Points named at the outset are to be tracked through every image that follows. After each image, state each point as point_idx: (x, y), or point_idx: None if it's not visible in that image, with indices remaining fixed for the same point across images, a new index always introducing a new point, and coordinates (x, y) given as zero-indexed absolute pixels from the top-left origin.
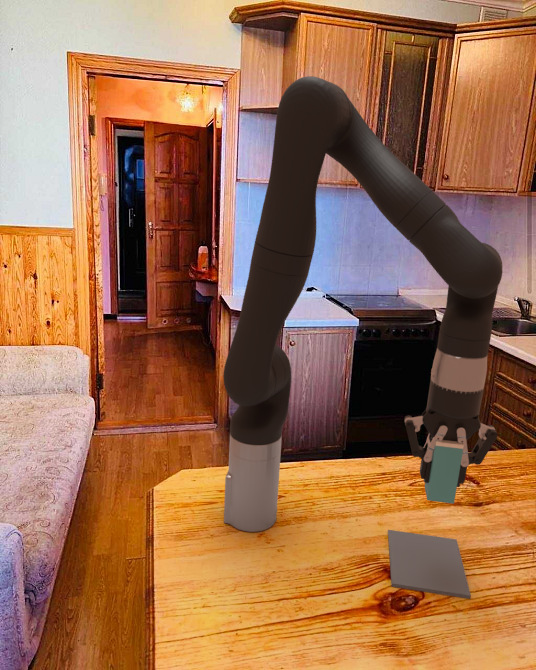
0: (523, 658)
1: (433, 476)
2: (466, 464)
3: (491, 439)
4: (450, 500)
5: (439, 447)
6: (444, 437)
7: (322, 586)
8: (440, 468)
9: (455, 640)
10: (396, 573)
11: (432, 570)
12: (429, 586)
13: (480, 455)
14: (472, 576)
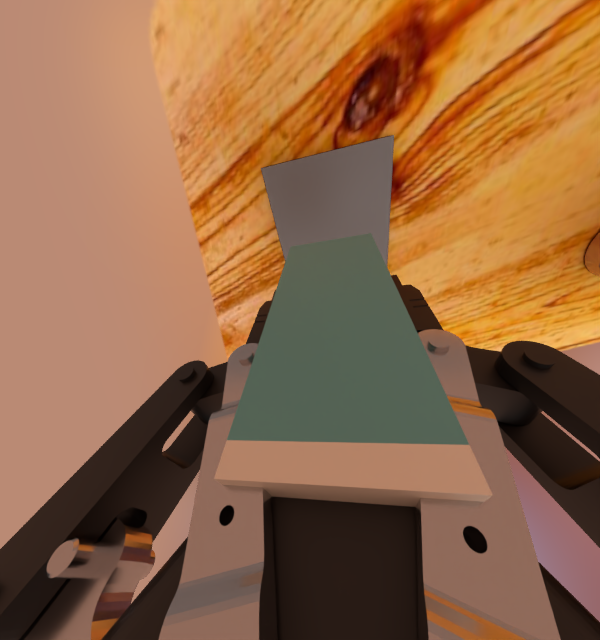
0: (155, 27)
1: (378, 277)
2: (238, 352)
3: (23, 549)
4: (300, 248)
5: (420, 428)
6: (392, 543)
7: (552, 56)
8: (358, 306)
9: (271, 9)
10: (382, 172)
11: (322, 209)
12: (326, 160)
13: (162, 406)
14: (266, 228)
